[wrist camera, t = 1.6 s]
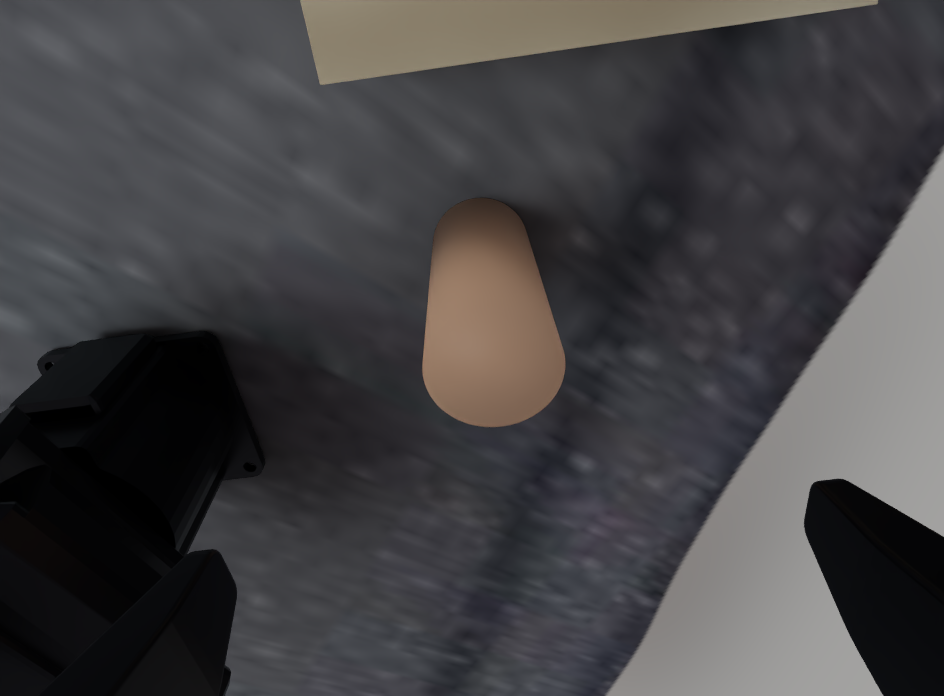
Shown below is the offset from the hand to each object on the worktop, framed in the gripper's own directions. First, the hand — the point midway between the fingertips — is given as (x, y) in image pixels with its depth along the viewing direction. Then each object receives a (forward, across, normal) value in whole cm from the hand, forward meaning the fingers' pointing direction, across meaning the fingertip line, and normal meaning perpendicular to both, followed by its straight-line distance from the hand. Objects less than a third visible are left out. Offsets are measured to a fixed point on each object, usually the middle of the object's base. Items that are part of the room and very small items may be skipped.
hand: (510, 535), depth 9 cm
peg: (+13, 0, 0) cm, 13 cm away
